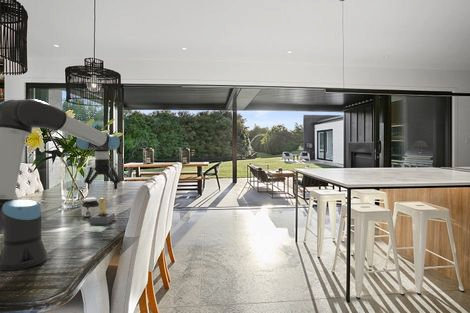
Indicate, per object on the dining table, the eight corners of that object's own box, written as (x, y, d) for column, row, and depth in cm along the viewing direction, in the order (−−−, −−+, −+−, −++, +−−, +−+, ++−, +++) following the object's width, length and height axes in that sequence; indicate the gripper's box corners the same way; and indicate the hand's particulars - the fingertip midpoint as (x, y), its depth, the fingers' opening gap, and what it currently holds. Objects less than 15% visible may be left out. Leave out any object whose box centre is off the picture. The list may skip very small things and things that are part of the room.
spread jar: (79, 217, 176) (79, 199, 175) (92, 213, 186) (92, 195, 186) (95, 218, 173) (95, 200, 172) (108, 214, 184) (108, 196, 183)
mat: (101, 232, 146) (101, 231, 146) (84, 231, 146) (84, 231, 146) (109, 227, 155) (109, 226, 155) (92, 226, 155) (92, 226, 155)
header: (107, 224, 161) (107, 217, 160) (89, 224, 161) (89, 217, 160) (114, 219, 171) (114, 213, 170) (98, 219, 171) (98, 213, 170)
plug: (104, 222, 164) (104, 199, 163) (97, 222, 164) (97, 198, 163) (107, 221, 168) (107, 197, 167) (100, 220, 168) (100, 197, 167)
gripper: (125, 158, 168) (126, 193, 169) (84, 158, 168) (85, 193, 169) (120, 159, 161) (121, 196, 162) (77, 159, 161) (78, 195, 162)
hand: (102, 194), depth 165 cm, fingers open, 13 cm apart
